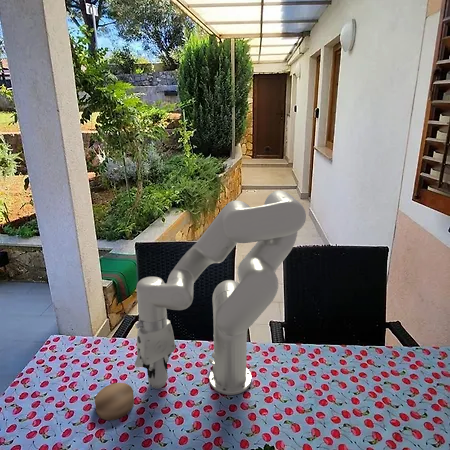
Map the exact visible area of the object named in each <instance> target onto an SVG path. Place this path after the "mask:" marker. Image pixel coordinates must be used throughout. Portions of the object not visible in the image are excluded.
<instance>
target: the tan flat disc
mask: <svg viewBox="0 0 450 450" xmlns="http://www.w3.org/2000/svg"><path fill="white" fill-rule="evenodd" d="M134 405H135V395H134V389H133V388H132V386H131V385H129V384H128V383H125V382H114V383H111V384H108V385H106V386H104V387H103V388H101V389H100V390H99V392H98V393H97V394H96V395H95V399H94V406H95V413H96V415H97V417H99V418H100V419H102V420H105V421H115V420H118V419H119V420H120V419H121V418H123V417H125V416H126V415H127V414H129V413H130V412H131V410H132V409H133V407H134Z"/></svg>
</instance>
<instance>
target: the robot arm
mask: <svg viewBox="0 0 450 450" xmlns="http://www.w3.org/2000/svg"><path fill="white" fill-rule="evenodd" d="M306 220H307V213H306V209H305V207H304V206H303V204H302V203H301V202H300V201H298V200H297V199H296V198H295V197H294V196H293V195H291V194H290V193H288V191H283V190H275V191H273V192H271V193H270V194H269V195H268V196H267V197H266V198H265V201H264V205H258V206H254V207H251V205H249V204H247V203H246V202H244V201H242V200H232V201H229V202H228V203H226V205H225V206H224V207H222V209H221V210H220V212H219V213H218V214H217V216H216V217H215V218H214V219H213V221H212V222H211V223H210V225H209V226H208V227H207V229H206V230H205V232H203V234H202V235H201V237H200V238H198V240H197V242H195V243H194V244H193V245H192V247H190V248H189V249H188V250H187V251H186V252H185V254H183V256H182V257H181V258H180V259H179V261H178V262H177V264H175V266H174V268H173V269H172V270H171V271H170V273H169V275H168V278H167V281H166V283H165V281H164V279H162V278H161V277H158V276H146V277H143V278H141V279H140V280H139V281H138V282H137V284H136V297H137V298H136V299H137V307H138V308H137V309H138V317H139V318H138V322H137V323H135V328H136V329H137V335H136V353H137V356H136V359H135V362H134V366H135V367H136V368H144V369H146V371H147V378H148V377H149V378H151V377H152V374H153V377H154V378H155V369H154V368H153V363H154V362H156V361H158V360H160V359H161V358H163V359H164V360H163V361H164V366H165V369H166V372H167V373H168V362H169V360H170V359H169V358H170V356H171V355H172V353H173V352H175V350H176V349H177V347H178V346H177V345H176V341H175V336H174V330H173V326H172V324H171V320H169V319H168V313H167V312H168V311H167V310H173V311H183V310H186V309H188V308H190V306H191V305H192V303H193V300H194V287H195V286H194V285H195V284H194V283H195V282H196V281H197V280H198V279H199V277H200V275H202V273H203V272H204V271H205V270H206V269H207V268H208V267H209V266H210V265H212V264H220V263H222V262H224V261H225V259H226V258H227V257H228V255H229V254H230V253H231V252H232V250H234V248H235V246H237V245H238V244H251V243H255V244H254V246H253V247H252V248H251V249H250V250H249V252H248V253H247V254H246V255H245V257H243V259H242V260H241V261H240V263H239V264H238V266H237V278H238V281H236V280H232V279H227V280H223V281H222V282H220V283H219V284H217V285H216V287H215V288H214V291H213V293H212V314H213V316H212V319H213V352H212V354H211V357H209V359H208V363H210V364H211V365H212V370H211V371H210V372H209V385H210V386H211V388H213V390H215V391H216V392H218V393H219V394H223V395H226V396H227V395H228V396H235V395H239V394H241V393H244V392H245V391H247V390H248V389H249V387H250V386H251V383H252V373H251V371H250V370H249V369H248V368H247V355H248V354H247V351H248V350H247V349H248V347H247V345H248V344H247V342H248V340H247V339H248V338H247V337H248V329H250V327H251V326H253V324H254V323H255V322H256V321H257V320H258V319H259V318H260V317H261V315H262V314H263V313H264V312H265V311H266V310H267V308H268V307H269V306H270V305H271V303H272V302H273V301H274V300H275V297H276V296H277V294H278V291H279V280H278V277H277V274H276V271H277V270H278V269H279V267H280V266H281V265H282V263H283V262H284V261H285V259H286V258H287V256H288V255H289V254H290V253H291V251H292V249H293V248H294V246H295V243H296V241H297V236H298V232H299V231H300V230H301V229H302V228H303V227H304V225H305V223H306Z"/></svg>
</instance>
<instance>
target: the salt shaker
mask: <svg viewBox="0 0 450 450" xmlns="http://www.w3.org/2000/svg"><path fill="white" fill-rule="evenodd" d="M163 360H164V359H163V358H161V359H160V360H158V361H156V362H154V363H153V368H154V369H155V378H154V377H153V374H152V377H151V378H149V377H148V376H147V380H148V383H149V384H150V386H151V387H152V388H153V389H161V388H163V387H165V385H166V383H167V380H168V379H169V375H168V371H167V372H166V369H165V366H164V361H163Z"/></svg>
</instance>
